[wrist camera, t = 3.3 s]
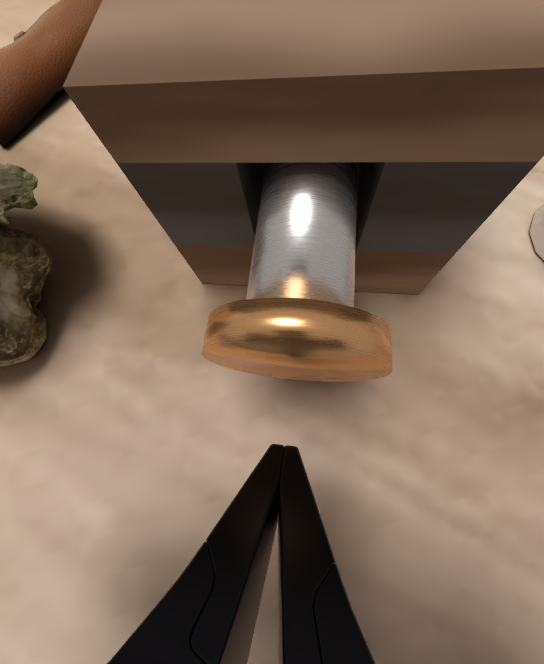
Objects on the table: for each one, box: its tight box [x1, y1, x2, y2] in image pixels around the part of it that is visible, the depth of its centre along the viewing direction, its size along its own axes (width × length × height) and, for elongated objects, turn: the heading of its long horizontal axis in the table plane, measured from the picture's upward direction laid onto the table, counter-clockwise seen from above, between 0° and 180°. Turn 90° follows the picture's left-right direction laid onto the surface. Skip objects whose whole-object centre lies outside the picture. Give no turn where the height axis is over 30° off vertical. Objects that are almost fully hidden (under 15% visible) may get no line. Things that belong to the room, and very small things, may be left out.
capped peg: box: [202, 162, 392, 382], centre depth 12 cm, size 12×6×6 cm, turn 174°
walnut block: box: [63, 0, 544, 295], centre depth 15 cm, size 12×14×12 cm
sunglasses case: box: [0, 0, 102, 149], centre depth 27 cm, size 18×7×7 cm
